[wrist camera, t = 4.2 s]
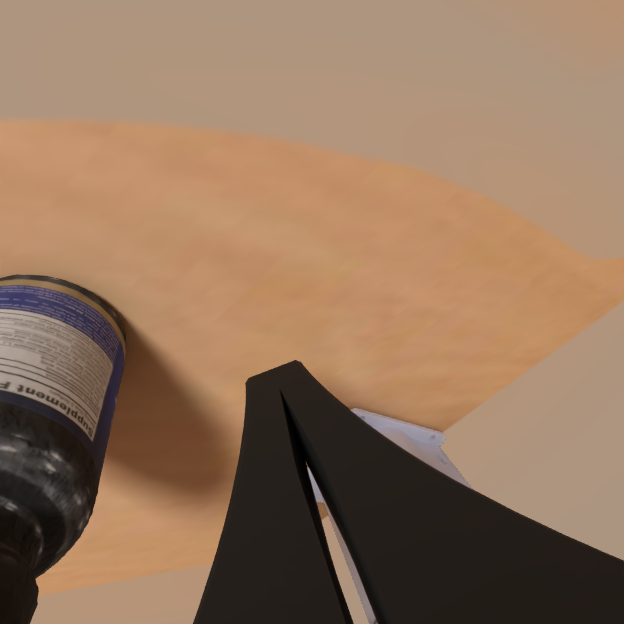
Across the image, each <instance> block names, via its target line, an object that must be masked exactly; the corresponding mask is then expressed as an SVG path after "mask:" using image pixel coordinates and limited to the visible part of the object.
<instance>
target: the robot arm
mask: <svg viewBox="0 0 624 624" xmlns="http://www.w3.org/2000/svg"><path fill="white" fill-rule="evenodd" d="M245 384H246V407H245V418H244V428H243V435H242V442H241V449H240V455H239V461H238V466H237V471H236V475H235V480H234V485H233V490H232V495H231V499H230V503H229V507H228V511H227V515H226V519H225V523H224V527H223V531H222V534H221V538H220V541H219V545H218V548H217V552H216V555H215V558H214V562H213V565H212V568H211V571H210V574H209V577H208V580H207V583H206V586H205V590H204V593H203V596H202V599H201V602H200V605H199V608H198V611H197V614H196V616H195V619H194V622H193V624H353V620H352V618H351V615H350V612H349V609H348V606H347V603H346V601H345V598H344V595H343V592H342V589H341V586H340V583H339V581H338V578H337V575H336V571H335V568H334V565H333V561H332V559H331V555H330V551H329V548H328V544H327V540H326V536H325V533H324V529H323V525H322V521H321V517H320V514H319V510H318V506H317V502H323V503H324V505H325V507H326V510H327V512H328V515H329V518H330V520H331V523H332V526H333V528H334V531H335V534H336V536H337V539H338V542H339V544H340V547H341V550H342V552H343V554H344V557H345V560H346V563H347V565H348V568H349V571H350V573H351V576H352V579H353V581H354V584H355V586H356V589H357V592H358V594H359V597H360V600H361V603H362V605H363V608H364V610H365V613H366V615H367V618H368V621H369V624H624V561H623V560H621V559H619V558H616V557H614V556H612V555H609V554H607V553H604V552H602V551H600V550H598V549H595V548H593V547H591V546H589V545H586V544H584V543H582V542H580V541H577V540H575V539H572V538H570V537H568V536H566V535H563V534H562V533H559V532H557V531H555V530H553V529H551V528H549V527H547V526H545V525H542V524H540V523H538V522H536V521H534V520H532V519H530V518H528V517H525V516H523V515H521V514H519V513H517V512H515V511H513V510H511V509H509V508H507V507H505V506H503V505H501V504H500V503H498V502H496V501H494V500H492V499H490V498H488V497H486V496H484V495H482V494H480V493H479V492H477V491H475V490H473V489H472V487H471V486H470V485H469V484H468V482H467V481H466V480H465V478H464V477H463V476H462V475H461V473H460V472H459V471H458V470H457V468H456V467H455V466H454V465H453V463H452V462H451V461H450V460H449V458H448V457H447V456H446V455H445V453H444V452H443V451H442V450H441V448H440V446H441V445H442V444H443V442H444V441H445V439H446V436H445V435H444V433H442V432H440V431H436V430H433V429H429V428H426V427H422V426H419V425H415V424H411V423H408V422H404V421H401V420H397V419H394V418H390V417H387V416H383V415H380V414H376V413H372V412H369V411H365V410H362V409H358V408H353V409H351V410H350V409H348V408H347V407H346V406H345V405H344V404H343V403H341V402H340V401H339V400H338V399H337V398H335V397H334V396H333V395H332V394H331V393H330V392H329V391H328V390H326V389H325V388H324V387H323V386H322V385H321V384H320V383H319V382H318V381H317V380H316V379H315V378H314V377H313V376H312V375H311V374H310V373H309V372H308V370H307V369H306V368H305V367H304V366H303V364H302V363H301V362H299V361H297V360H294V361H292V362H289V363H287V364H284V365H281V366H279V367H276V368H274V369H271V370H268V371H266V372H263V373H261V374H258V375H255V376H253V377H250V378H248V380H247V382H246V383H245ZM306 463H307V465H308V468H307V465H306Z"/></svg>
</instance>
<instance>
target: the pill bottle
mask: <svg viewBox="0 0 624 624" xmlns="http://www.w3.org/2000/svg"><path fill="white" fill-rule="evenodd" d="M125 356H126V335H125V332H124V329H123V327H122V324H121V322H120V320H119V319H118V317H117V315H116V314H115V312H114V311H113V310H112V309H111V308H110V307H109V306H108V305H106V304H105V303H104V302H103V301H102V300H101V299H99V298H98V297H97V296H95V295H94V294H93V293H91V292H90V291H88V290H86V289H85V288H82V287H80V286H78V285H76V284H73V283H70V282H68V281H65V280H62V279H57V278H53V277H48V276H38V275H12V276H8V277H3V278H0V624H30V622H31V619H32V616H33V614H34V612H35V609H36V607H37V605H38V604H37V597H38V592H39V590H38V586H37V584H36V580H35V579H36V578H37V577H38V576H40V575H41V574H43V573H45V572H46V571H47V570H48V569H49V568H51V567H52V566H53V565H55V564H56V563H57V562H58V561H59V560H60V559H61V558H62V557H63V556H65V554H66V553H67V552H68V551H69V550H70V549H71V548H72V547H73V545H74V544H75V542H76V541H77V540H78V539H79V538H80V536H81V534H82V532H83V531H84V528H85V527H86V526H87V524H88V521H89V519H90V516H91V515H92V513H93V507H94V504H95V501H96V496H97V494H98V486H99V481H100V476H101V471H102V467H103V462H104V457H105V452H106V448H107V443H108V438H109V434H110V429H111V424H112V420H113V415H114V410H115V406H116V402H117V396H118V392H119V387H120V382H121V378H122V373H123V368H124V363H125Z"/></svg>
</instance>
